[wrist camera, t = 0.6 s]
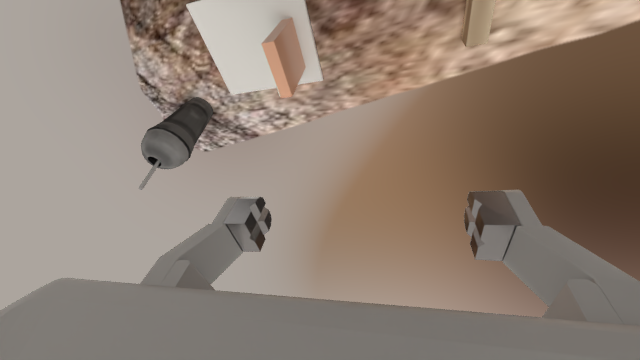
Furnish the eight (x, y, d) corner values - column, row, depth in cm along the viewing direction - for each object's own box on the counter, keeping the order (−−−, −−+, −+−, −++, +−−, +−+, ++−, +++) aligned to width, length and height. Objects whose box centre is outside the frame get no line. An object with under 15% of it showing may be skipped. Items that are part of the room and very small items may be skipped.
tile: (280, 20, 37) (259, 44, 31) (292, 17, 36) (273, 41, 30) (295, 69, 42) (279, 98, 36) (305, 67, 41) (292, 96, 35)
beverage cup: (212, 91, 48) (144, 166, 34) (224, 124, 53) (170, 201, 40) (175, 90, 49) (96, 162, 35) (192, 123, 54) (128, 197, 41)
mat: (187, 3, 38) (185, 4, 37) (298, -28, 33) (297, -27, 33) (232, 93, 47) (231, 94, 47) (323, 78, 43) (322, 80, 42)
